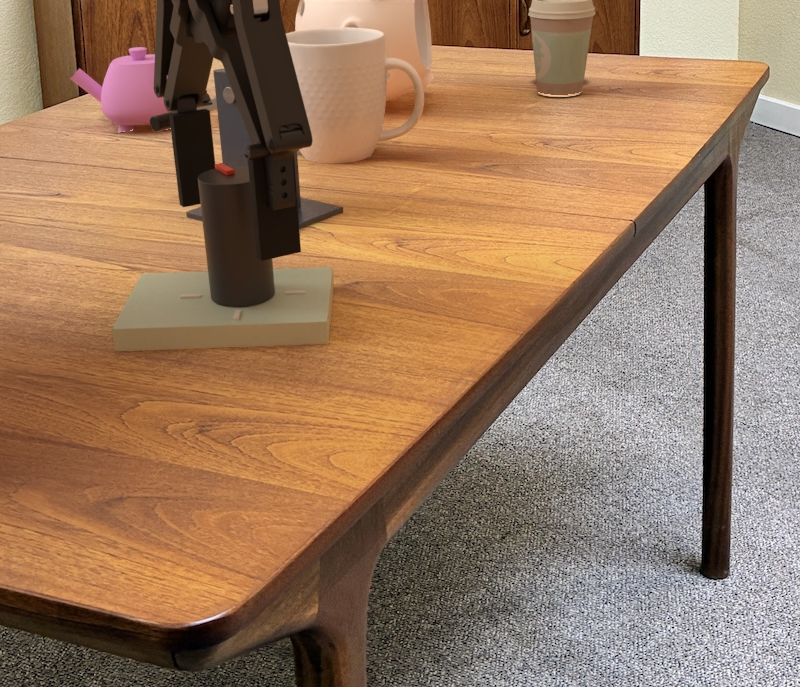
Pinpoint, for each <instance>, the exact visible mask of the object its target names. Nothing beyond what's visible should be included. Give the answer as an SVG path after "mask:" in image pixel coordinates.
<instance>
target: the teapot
mask: <svg viewBox="0 0 800 687" xmlns="http://www.w3.org/2000/svg"><path fill="white" fill-rule="evenodd" d="M147 52H148V48H147V47H144V46H137V47H136V46H135V47H130V48H128V53H129V55H124V56H120V57H116V58H114V59H112V61H111V62H110V64H109V66H108V68H107V70H106V73H105V76H104V79H103V82H102V85H101V84H100V83H98V82H97V81H96V80H95V79H93V77H91V76H90V75H88V74H87V73H86V72H85V71H84V70H82V69H81V68H80V67H79V68H78V69H77V70H76V71H75V72H74V73H73V75H72V76H71V77H70V80H71V81H72V82H74V83H75V84H76V85H77V86H79V88H81V89H82V90H84V91H85V92H86V93H87V94H89V95H90V96H91V97H93V98H94V99H96V101H98V102H99V103H100V108H101V111H102V113H103V114H104V116H105V117H106V118H107V120H109V121H110V122H111V124H115V125H118V126H119V127H118V129H117V132H118V131H121V132H123V131H125V132H126V131H130V130H132V129H133V128H135V126H150V118H151V117H152V116H156V115H160V114H164V113H167V112H168V111H167V110H166V107H165V105H164V100H163V99H164V97H161V98H158V97H157V96H156V94H155V93H154V66H155V53H154V54H153V53H152V54H151V53H150V54H147ZM167 78H168V75H167ZM169 112H171V111H169ZM133 130H134V129H133ZM126 133H127V132H126Z"/></svg>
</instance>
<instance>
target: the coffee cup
mask: <svg viewBox="0 0 800 687" xmlns="http://www.w3.org/2000/svg"><path fill="white" fill-rule="evenodd" d="M595 15H596V6H594V1H593V0H531V4H530V7H529V8H528V13H527V16H529V18H530V28H531V39H532V40H531V41H532V52H533V62H534V74H535V84H536V92H537V91H538V92H540V93H544V94H551V95H568V94H575V93H579V92H581V91H582V92H583V89H584V88H583V87H584V82H585V75H586V68H587V61H588V54H589V48H590V41H591V36H592V35H591V34H592V27H593V20H594V16H595Z"/></svg>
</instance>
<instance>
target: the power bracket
mask: <svg viewBox="0 0 800 687" xmlns="http://www.w3.org/2000/svg"><path fill="white" fill-rule="evenodd" d="M212 72H213V82H214V91H215V97H216V102H217V110H216V111H217V120H218V130H219V141H220V150H221V160H222V161H221V163H223V164H225V165H227V166H228V167H229V166H248V160H246V159H245V157H244V155H243V154H245V151H246V149H247V148H249V147H248V146H249V145H252V143H251V140H250V138H249V135H248V132H247V129H246V127H245V124H244V121H243V118H242V116H241V113H240V110H239V107H238V105H237V102H236V99H235V97H234V94H233V91H232V88H231V86H230V83H229V80H228V77H227V75H226V72H225V69H224V68H218V69H214V70H213V71H212ZM294 163H295V177H296V191H297V204H298V218H299V231H300V230H302V229H305V228H307V227H310V226H313V225H315V224H318V223H320V222H322V221H326V220H327V219H331V218H332V217H335V216H338V215H341V214H343V213H344V207H343V206H340V205H336V204H333V203H332V204H331V203H327V202H324V201H319V200H314V199H309V198H306V197H301V187H300V173H299V159H298V151H297V152H294ZM185 213H186V218H188V219H192V220H196V221H199V222H202V213H201V206H199V207H196V208H194V209H191V210H187V211H186V212H185Z"/></svg>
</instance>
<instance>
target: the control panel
mask: <svg viewBox="0 0 800 687" xmlns="http://www.w3.org/2000/svg"><path fill="white" fill-rule="evenodd" d="M273 273H274V285H275V294H274V296H273V297H272V298H271V299H269V300H267V301H265V302H263V303H260V304H256V305H252V306H244V307H230V306H223V305H219V304H217V303H215V302H213V301H212V299H211V294H210V285H209V276H208V270H206V271H205V270H202V271H179V272H177V271H174V272H151V273H150V272H149V273H147V272H146V273H141V274H140V276H139V278H138V279H137V281H136V283H135V285H134V287H133V288H132V291H131V293H130V294H129V296H128V298H127V300H126V302H125V304H124V305H123V307H122V309H121V311H120V312H119V315H118V316H117V318H116V320H115V322H114V324H113V326H112V327H111V334H112V342H113V347H114V352H132V351H133V352H135V351H138V352H139V351H158V350H159V351H161V350H184V349H185V350H188V349H189V350H190V349H191V350H193V349H194V350H195V349H215V348H216V349H218V348H220V349H221V348H244V347H272V346H273V347H274V346H275V347H276V346H303V345H305V346H306V345H326V344H327V345H328V344H329V343H330V332H331V323H332V322H331V321H332V311H333V302H334V301H333V300H334V292H335V291H334V289H335V281H334V280H335V279H334V267H333V266H321V267H320V266H319V267H314V266H313V267H292V268H291V267H289V268H286V267H285V268H273Z"/></svg>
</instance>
